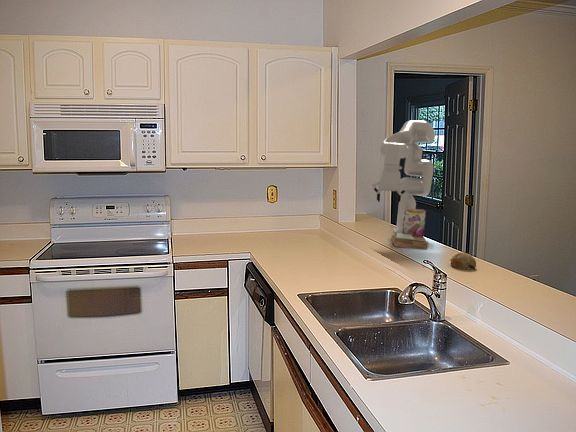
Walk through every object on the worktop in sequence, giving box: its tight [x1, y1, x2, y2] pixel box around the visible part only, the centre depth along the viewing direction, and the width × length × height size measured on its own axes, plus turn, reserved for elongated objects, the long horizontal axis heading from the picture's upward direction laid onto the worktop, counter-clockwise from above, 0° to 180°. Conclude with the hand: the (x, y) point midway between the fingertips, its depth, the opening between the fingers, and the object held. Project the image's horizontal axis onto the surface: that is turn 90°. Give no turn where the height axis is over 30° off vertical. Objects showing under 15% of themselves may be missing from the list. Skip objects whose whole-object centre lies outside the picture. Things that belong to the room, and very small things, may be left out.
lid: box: [392, 227, 414, 240], centre depth 274 cm, size 14×10×3 cm
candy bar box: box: [402, 208, 427, 237], centre depth 286 cm, size 11×5×16 cm, turn 84°
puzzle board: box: [391, 233, 429, 250], centre depth 274 cm, size 18×16×4 cm
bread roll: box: [449, 252, 477, 270], centre depth 228 cm, size 10×10×8 cm
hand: (388, 202), depth 272 cm, fingers open, 9 cm apart
